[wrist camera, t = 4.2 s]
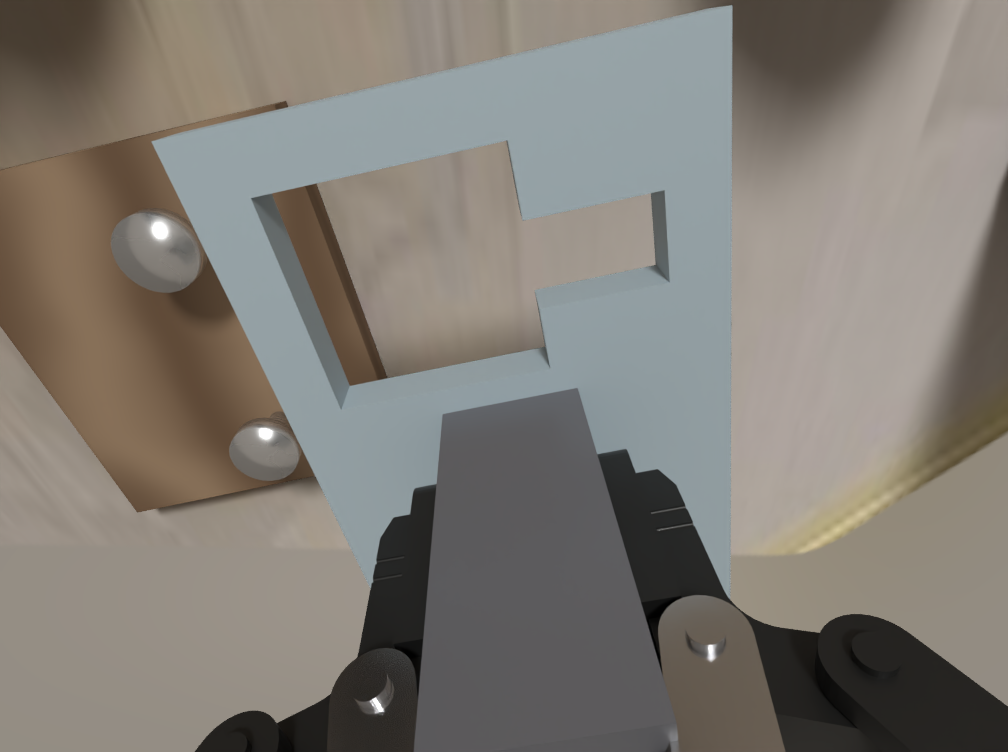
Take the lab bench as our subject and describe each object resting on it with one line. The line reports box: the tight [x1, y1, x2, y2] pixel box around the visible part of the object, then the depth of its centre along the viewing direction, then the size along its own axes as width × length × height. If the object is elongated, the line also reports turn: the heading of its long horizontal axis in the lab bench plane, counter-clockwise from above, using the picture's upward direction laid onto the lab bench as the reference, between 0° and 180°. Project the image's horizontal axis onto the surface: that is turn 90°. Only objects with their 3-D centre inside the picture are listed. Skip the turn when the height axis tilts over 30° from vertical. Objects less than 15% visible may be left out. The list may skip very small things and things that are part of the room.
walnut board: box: [0, 101, 387, 512], centre depth 24 cm, size 14×16×4 cm
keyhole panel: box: [152, 5, 732, 752], centre depth 11 cm, size 10×16×8 cm, turn 12°
